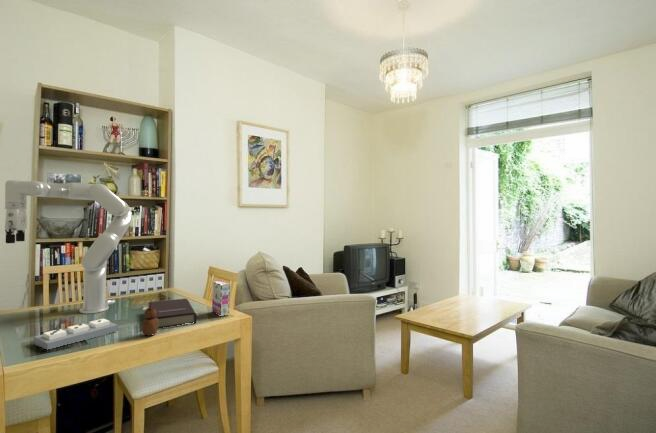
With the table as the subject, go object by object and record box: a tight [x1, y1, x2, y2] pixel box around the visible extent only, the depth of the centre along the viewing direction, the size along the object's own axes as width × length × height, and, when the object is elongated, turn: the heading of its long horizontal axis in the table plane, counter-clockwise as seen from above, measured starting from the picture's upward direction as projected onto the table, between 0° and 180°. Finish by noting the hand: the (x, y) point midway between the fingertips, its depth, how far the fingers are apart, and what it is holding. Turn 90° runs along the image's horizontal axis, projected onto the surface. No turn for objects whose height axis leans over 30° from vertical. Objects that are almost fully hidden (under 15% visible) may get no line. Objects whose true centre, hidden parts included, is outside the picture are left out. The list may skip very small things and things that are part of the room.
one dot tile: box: [88, 318, 111, 328], centre depth 145 cm, size 6×6×3 cm
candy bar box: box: [211, 280, 231, 315], centre depth 174 cm, size 11×5×16 cm, turn 41°
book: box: [148, 298, 198, 329], centre depth 166 cm, size 28×20×6 cm
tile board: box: [33, 321, 119, 350], centre depth 138 cm, size 25×12×3 cm, turn 150°
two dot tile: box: [67, 323, 89, 334], centre depth 138 cm, size 6×6×3 cm
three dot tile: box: [42, 328, 67, 341], centre depth 131 cm, size 6×6×3 cm
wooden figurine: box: [141, 303, 159, 336], centre depth 143 cm, size 7×6×15 cm
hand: (15, 242), depth 159 cm, fingers open, 9 cm apart
